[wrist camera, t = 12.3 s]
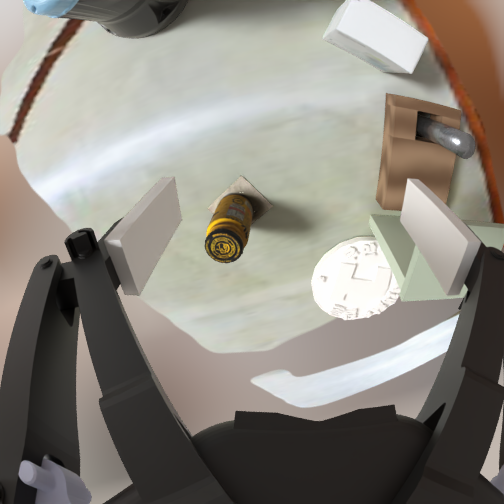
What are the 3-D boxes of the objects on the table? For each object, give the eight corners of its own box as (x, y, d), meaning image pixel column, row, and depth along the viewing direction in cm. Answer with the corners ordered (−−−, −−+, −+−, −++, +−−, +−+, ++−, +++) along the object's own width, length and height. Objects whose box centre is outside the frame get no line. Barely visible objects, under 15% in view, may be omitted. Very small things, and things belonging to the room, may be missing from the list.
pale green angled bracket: (374, 164, 41) (427, 222, 25) (444, 173, 39) (509, 228, 24) (366, 224, 47) (401, 301, 31) (431, 227, 45) (480, 295, 30)
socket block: (385, 93, 34) (395, 94, 30) (448, 107, 33) (461, 110, 29) (375, 199, 44) (383, 209, 41) (433, 203, 43) (443, 213, 39)
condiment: (207, 208, 48) (188, 246, 38) (241, 175, 44) (230, 207, 34) (238, 235, 50) (227, 278, 40) (273, 205, 46) (271, 244, 37)
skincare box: (320, 41, 31) (334, 28, 22) (336, 8, 27) (354, -11, 18) (382, 74, 32) (412, 75, 24) (398, 43, 29) (430, 37, 20)
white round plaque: (349, 215, 47) (352, 223, 44) (422, 259, 50) (427, 267, 48) (293, 293, 57) (293, 303, 55) (365, 321, 61) (367, 331, 58)
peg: (408, 131, 37) (454, 156, 25) (410, 112, 35) (458, 131, 23) (424, 134, 36) (472, 160, 25) (426, 116, 34) (476, 136, 23)
